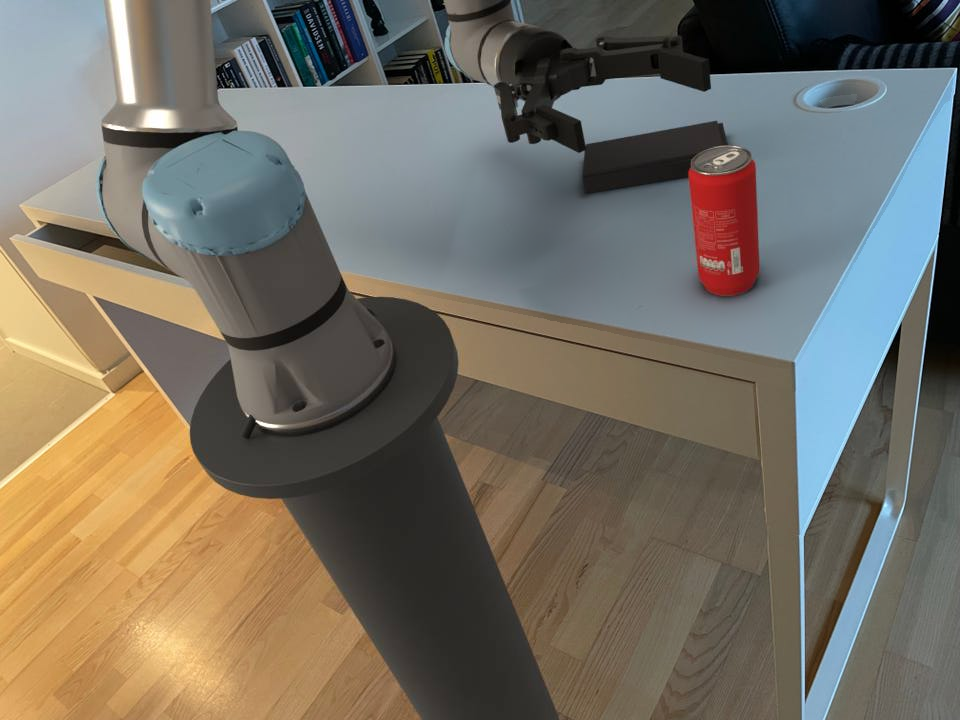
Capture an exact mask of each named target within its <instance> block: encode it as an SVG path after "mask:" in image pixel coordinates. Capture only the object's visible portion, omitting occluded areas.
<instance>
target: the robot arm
mask: <svg viewBox="0 0 960 720" xmlns="http://www.w3.org/2000/svg"><path fill="white" fill-rule="evenodd" d="M103 2H104V4H103V5H104V10H105V19H106V27H107V33H108V34H107V35H108V42H109V50H110V57H111V65H112V73H113V79H114V81H113V82H114V88H115V93H116V94H115V96H116V101H115V104H114V105H113V106H112V108H110V110H109V111H108V112H106V114H105V115H104V116H103V117H102V119H101V120H100V125H101V132H102V139H103V147H104V154H105V156H104V157H103V159H102V160H101V162H100V164H99V167H98V170H97V173H96V177H95V178H96V179H95V196H96V197H95V198H96V202H97V205H98V210H99V211H100V213H101V215H102V218H103V219H104V222H105V223H106V225H107V226H108V227H109V228H110V230H111V231H112V232H113V233H114V234H115V235H116V236H117V238H118V239H119V240H120V242H122V243H123V244H124V245H125V246H126V247H127V248H128V249H131V250H132V251H135V252H136V253H137V255H139V256H141V257H142V258H145V259H147V260H149V261H152V262H155V263H157V264H158V265H159V266H161V267H164V268H165V269H166V270H167V271H170V272H171V273H173V274H174V275H176V276H178V277H180V278H181V279H184V280H185V281H186V282H188V283H189V284H190V286H191V287H192V288H193V290H194V291H195V293H196V294H197V296H198V297H199V299H200V300H201V302H202V304H203V306H204V307H205V308H206V311H207V312H208V314H209V316H210V317H211V320H212V321H213V322H214V324H215V326H216V328H218V331H219V332H220V334H221V335H222V337H223V339H224V341H225V343H226V344H227V347H228V352H229V356H230V359H231V363H232V369H233V375H234V381H235V387H236V392H237V397H238V400H239V403H240V406H241V408H242V410H243V412H244V413H245V415H246V416H247V418H248V419H247V421H246V423H245V426H244V428H243V430H242V432H241V434H240V436H242V437H244V438H246V439H249V438H250V436H251V433H252V431H253V429H254V427H255V428H257V429H258V430H260V431H262V432H264V433H267V434H270V435H275V436H300V435H306V434H311V433H315V432H318V431H322V430H325V429H327V428H330V427H333V426H335V425H337V424H339V423H341V422H343V421H345V420H347V419H349V418H350V417H352V416H354V415H355V414H357V413H358V412H360V411H361V410H363V409H364V408H365V407H366V406H368V405H369V404H370V403H371V402H372V401H373V400H375V399H376V397H377V396H378V395H379V394H380V393H381V392H382V391H383V390H384V388H385V387H386V386H387V384H388V383H389V381H390V379H391V377H392V375H393V373H394V370H395V367H396V351H395V348H394V346H393V343H392V341H391V339H390V336H389V335H388V333H387V332H386V330H385V329H384V327H383V326H382V325H381V324H380V322H379V321H378V320H377V319H376V318H375V317H374V316H376V315H375V313H374V312H373V311H372V310H370V309H367V308H365V307H364V306H363V305H362V304H361V303H360V302H359V301H358V300H357V298H358V297H356V296H355V295H354V294H353V293H352V292H351V291H350V289H348V286H347V284H346V283H345V282H346V281H345V280H344V278H343V276H342V273H341V271H340V269H339V266H338V264H337V262H336V259H335V257H334V254H333V252H332V250H331V247H330V246H329V242H328V241H327V238H326V236H325V233H324V231H323V229H322V226H321V224H320V222H319V220H318V218H317V214H316V213H315V211H314V208H313V206H312V203H311V201H310V199H309V197H308V194H307V192H306V188H305V184H304V182H303V179H302V177H301V174H300V172H299V171H298V170H297V169H296V167H295V166H294V164H292V161H291V160H290V158H289V156H288V154H287V152H286V150H285V149H284V148H283V147H282V146H281V144H279V142H277V141H276V140H275V139H273V138H272V137H270V136H267V135H265V134H263V133H260V132H256V131H251V130H239V128H238V121H237V120H236V119H235V118H234V117H232V116H231V115H230V114H229V113H228V112H227V111H226V110H225V109H224V108H223V107H222V105H221V103H220V100H219V92H218V91H219V90H218V81H217V80H218V79H217V68H216V67H217V65H216V55H215V53H216V52H215V42H214V29H213V18H212V17H213V16H212V4H211V0H103ZM443 3H444V7H445V10H446V15H447V20H448V21H447V22H448V25H447V28H446V31H445V37H444V50H445V54H446V57H447V59H448V61H449V63H450V64H451V65H452V66H453V68H455V69H456V70H457V71H460V72H461V73H462V74H463V75H464V76H466V77H467V78H468V79H471V80H473V81H477V82H479V83H483V84H486V85H489V86H491V87H492V88H493V90H494V93H495V97H496V101H497V105H498V109H499V110H500V116H501V120H502V124H503V129H504V133H505V137H506V141H507V143H510V144H513V143H517V142H518V141H520V140H521V136H522V135H525V134H526V136H527V141H528V144H529V145H536V144H539V143H540V142H542V140H543V141H548V142H549V141H551V140H552V141H554V142H556V143H558V144H560V145H562V146H564V147H565V148H567V149H570V150H571V151H574V152H576V153H578V154H580V153H582V152H585V150H586V140H585V136H584V131H583V130H584V129H583V125H582V120H581V119H578V118H576V117H573V116H571V115H569V114H567V113H564V112H562V111H560V110H558V109H555V108H553V107H554V103H555V102H556V101H558V99H560V98H561V97H562V96H564V95H567V94H569V93H570V92H572V91H578V90H580V89H581V88H585V87H595V86H601V85H604V84H605V81H606V80H614V79H623V78H632V77H641V76H650V75H659V77H660V79H662V80H665V81H667V82H671V83H675V84H677V85H681V86H683V87H687V88H691V89H694V90H697V91H700V92H702V93H705V92H707V91H710V90H711V89H712V82H711V70H710V60H709V58H706V57H705V58H704V57H702V56H699V55H693V54H691V53H687V52H684V49H683V40H682V39H683V38H682V36H681V35H659V36H658V35H657V36H634V37H631V36H630V37H612V36H606V35H600V36H599V37H597V38H596V39H595V44H596V46H595V47H587V48H577V47H573V46H572V45H571V43H570V42H569V41H568V40H567V39H566V38H565V37H564V36H563V35H561V34H560V33H558V32H555V31H552V30H549V29H546V28H543V27H539V26H537V25H532V24H529V23H526V22H524V23H523V22H521V21H520V22H519V21H518V20H516V19H515V15H514V10H513V5H512V0H443ZM593 66H594V70H595V75H593V76H592V73H593V71H592V70H593ZM519 100H520V101H522V102H524V104H523V105H522V109H521V113H520V114H519V113H518V109H517V108H518V107H519V103H518V101H519ZM373 315H374V316H373ZM376 317H377V316H376Z"/></svg>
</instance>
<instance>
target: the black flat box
mask: <svg viewBox="0 0 960 720" xmlns="http://www.w3.org/2000/svg"><path fill="white" fill-rule="evenodd" d="M585 145H586V150H585V151H584V153H583V154H584V155H583V164H582V175H581V179H582V184H583V185H582V186H583V188H584V189H583V190H584V194H592V193H598V192H605V191H610V190H616V189H623V188H628V187H634V186H640V185H646V184H653V183H659V182H665V181H671V180H677V179H683V178H689V175H688V173H689V170H690V168H691V161H692V159H693V158H694V157H695V156H696V155H697V154H699V153H700V152H702V151H705V150H707V149H710V148H714V147H718V146H729V144H728V139H727V135H726V131H725V127H724V123H723V122H718V120H713V121H707V122H701V123H696V124H691V125H684V126H680V127H674V128H667V129H663V130H658V131H652V132H646V133H641V134H635V135H630V136H625V137H619V138H613V139H608V140H602V141H597V142H592V143H585Z"/></svg>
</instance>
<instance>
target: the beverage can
mask: <svg viewBox="0 0 960 720" xmlns="http://www.w3.org/2000/svg"><path fill="white" fill-rule="evenodd" d="M688 175H689V177H688V185H689V186H688V187H689V194H690V195H689V196H690V204H691V205H690V206H691V215H692V225H693V235H694V243H695V244H694V245H695V255H696V256H695V257H696V267H697V276H698V278H699V280H700V281H701V283H702V284H703V287H704V288H705V290H706V291H707V292H708V293H710V294H712V295H715V296H718V297H719V296H721V297H734V296H738V295H742V294H745V293H746V292H748V291H749V290H751V289H752V288H753V287H754V285H755V284H756V279H757V277H758V276H759V274H760V271H761V267H760V245H759V242H760V241H759V240H760V239H759V219H758V217H759V216H758V215H759V214H758V190H757V165H756V162H755V160H754V158H753V154H752V152H751V151H750V150H749V149H747V148H746V147H743V146H739V145H728V146H718V147H714V148H710V149H707V150H705V151H702V152H700V153H699V154H697V155H696V156H695V157H694V158H693V159H692V161H691V168H690V170H689V173H688Z"/></svg>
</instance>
